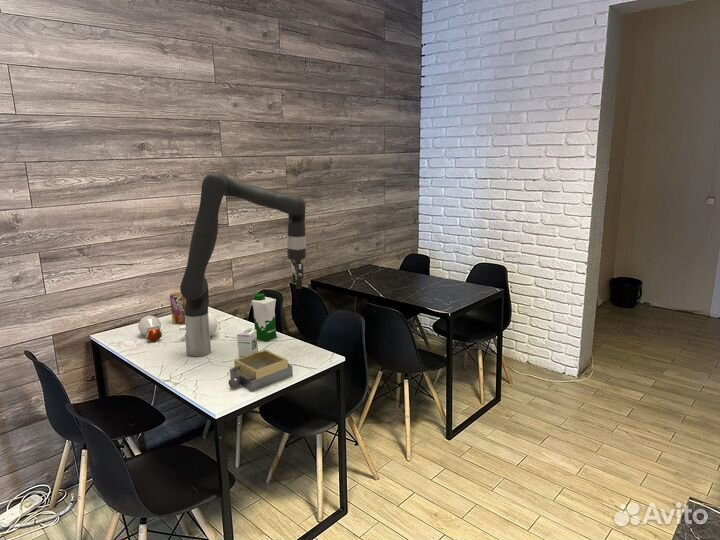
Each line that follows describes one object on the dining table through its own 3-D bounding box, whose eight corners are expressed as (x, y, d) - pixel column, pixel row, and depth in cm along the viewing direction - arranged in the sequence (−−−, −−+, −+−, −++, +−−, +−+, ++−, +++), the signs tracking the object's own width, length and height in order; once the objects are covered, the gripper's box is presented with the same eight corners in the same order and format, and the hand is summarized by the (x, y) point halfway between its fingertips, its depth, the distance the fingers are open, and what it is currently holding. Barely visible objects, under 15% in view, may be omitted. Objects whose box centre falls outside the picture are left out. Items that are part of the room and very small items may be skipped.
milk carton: (264, 333, 231) (262, 291, 226) (279, 337, 226) (278, 294, 221) (251, 339, 223) (249, 296, 219) (266, 343, 219) (264, 299, 214)
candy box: (193, 321, 246) (191, 291, 242) (189, 324, 242) (187, 294, 238) (176, 321, 247) (173, 291, 243) (172, 324, 242) (169, 294, 239)
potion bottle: (151, 334, 234) (158, 347, 222) (131, 326, 227) (138, 340, 216) (162, 317, 234) (170, 330, 222) (143, 309, 228) (150, 322, 216)
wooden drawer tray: (242, 395, 172) (240, 377, 171) (220, 382, 182) (219, 364, 180) (292, 375, 188) (292, 358, 186) (270, 364, 197) (269, 348, 196)
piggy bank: (222, 337, 230) (191, 338, 231) (221, 311, 231) (190, 313, 232) (211, 339, 217) (178, 340, 219) (210, 312, 218) (177, 313, 220)
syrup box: (253, 369, 193) (251, 334, 190) (238, 368, 194) (236, 332, 191) (258, 363, 198) (257, 328, 195) (245, 362, 200) (242, 327, 196)
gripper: (284, 243, 206) (284, 281, 210) (290, 250, 193) (291, 291, 197) (302, 243, 208) (302, 280, 212) (309, 249, 195) (309, 289, 199)
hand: (297, 285), depth 204 cm, fingers open, 8 cm apart
